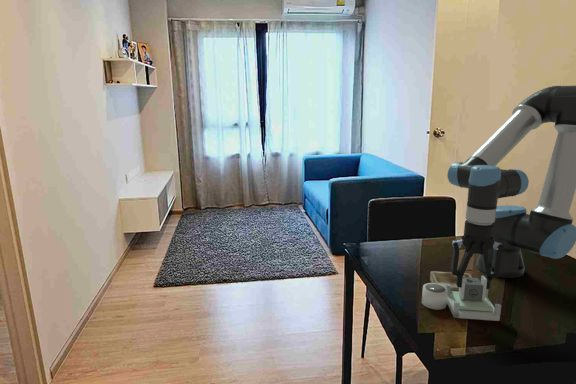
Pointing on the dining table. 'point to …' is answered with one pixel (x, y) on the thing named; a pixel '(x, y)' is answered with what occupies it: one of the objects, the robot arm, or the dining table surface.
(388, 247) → the dining table surface
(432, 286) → the cup
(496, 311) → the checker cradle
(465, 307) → the plate
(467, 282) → the dice cube
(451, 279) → the trough
